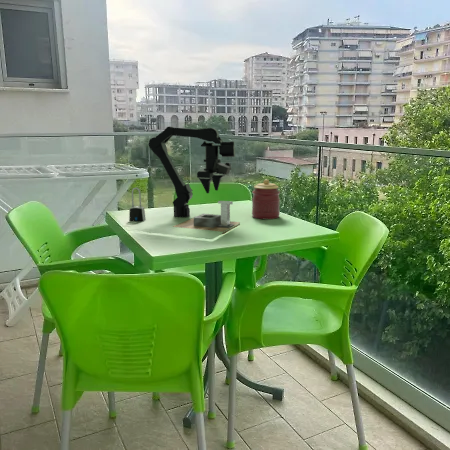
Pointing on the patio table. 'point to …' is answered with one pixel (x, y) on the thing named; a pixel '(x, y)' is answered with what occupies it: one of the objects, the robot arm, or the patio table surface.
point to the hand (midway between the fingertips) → (212, 191)
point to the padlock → (136, 210)
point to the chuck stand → (207, 223)
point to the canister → (265, 201)
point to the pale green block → (225, 212)
